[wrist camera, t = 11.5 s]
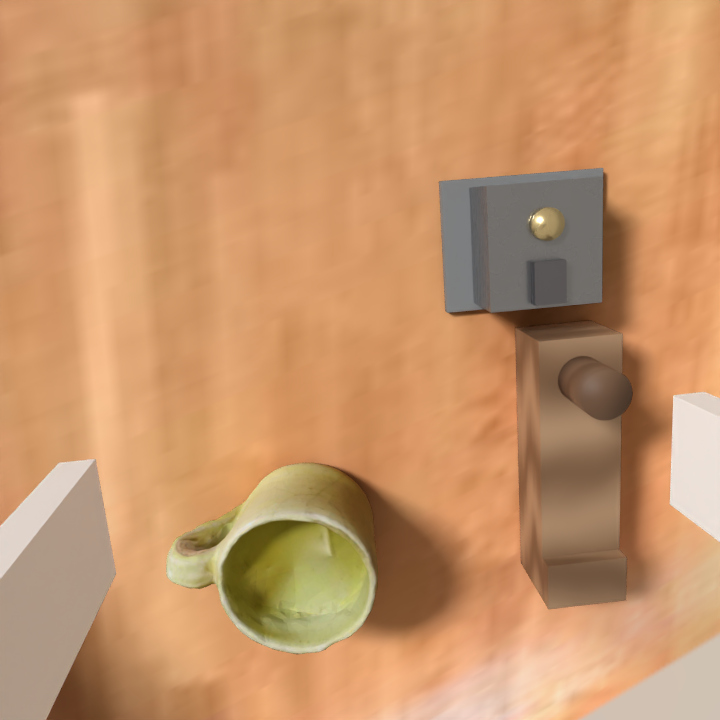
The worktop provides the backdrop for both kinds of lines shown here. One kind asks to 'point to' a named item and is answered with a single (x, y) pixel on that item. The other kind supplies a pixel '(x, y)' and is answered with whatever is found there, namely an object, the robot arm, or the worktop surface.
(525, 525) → the plane body
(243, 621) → the mug
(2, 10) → the worktop surface
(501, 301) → the lever cap
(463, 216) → the mat
